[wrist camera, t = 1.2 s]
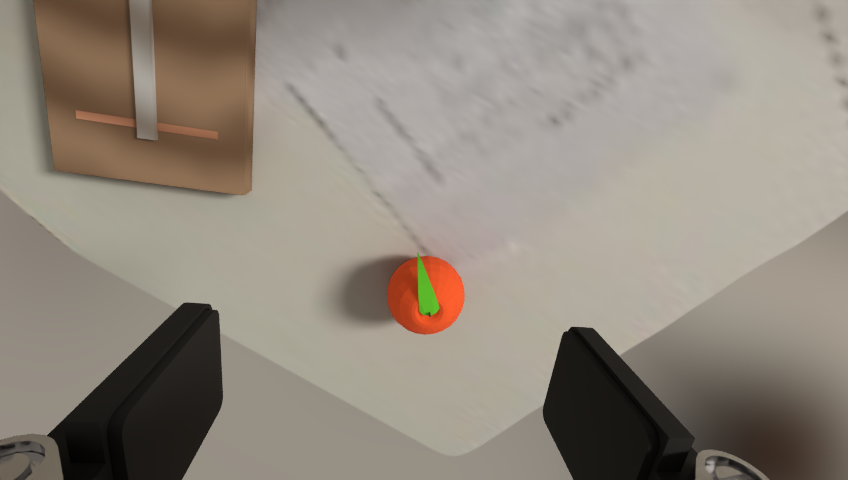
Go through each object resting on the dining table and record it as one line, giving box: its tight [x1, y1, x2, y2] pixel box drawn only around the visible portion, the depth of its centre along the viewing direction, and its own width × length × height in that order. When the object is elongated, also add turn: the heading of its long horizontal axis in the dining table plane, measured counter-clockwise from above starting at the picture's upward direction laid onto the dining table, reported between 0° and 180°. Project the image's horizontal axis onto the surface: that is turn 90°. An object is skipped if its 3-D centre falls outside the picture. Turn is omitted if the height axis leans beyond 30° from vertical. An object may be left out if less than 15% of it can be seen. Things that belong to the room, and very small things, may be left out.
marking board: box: [33, 0, 257, 195], centre depth 29 cm, size 24×14×2 cm, turn 171°
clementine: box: [387, 254, 464, 334], centre depth 35 cm, size 8×7×7 cm
